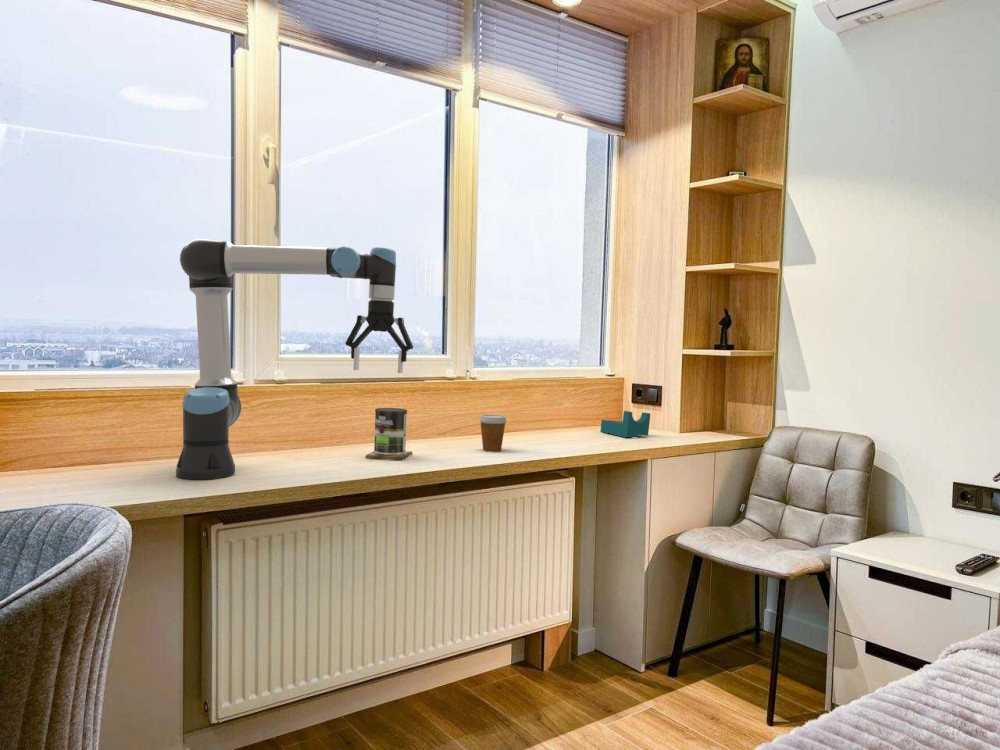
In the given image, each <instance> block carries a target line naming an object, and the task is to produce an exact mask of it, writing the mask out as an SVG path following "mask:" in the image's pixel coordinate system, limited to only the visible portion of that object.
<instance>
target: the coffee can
mask: <svg viewBox="0 0 1000 750" xmlns="http://www.w3.org/2000/svg"><path fill="white" fill-rule="evenodd" d="M374 412H375V415H374V416H375V419H374V441H373V442H374V445H373V447H374V449H373V452H374V453H376V454H381V455H402V454H405V453H406V452H405V451H406V443H407V420H408V419H407V417H408V416H407V415H408V409H406V408H398V407H380V408H379V407H377V408H375V409H374Z"/></svg>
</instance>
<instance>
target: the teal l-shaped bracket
mask: <svg viewBox="0 0 1000 750" xmlns="http://www.w3.org/2000/svg"><path fill="white" fill-rule="evenodd" d="M622 415H623V417H622V420H607V419H601V421H600V422H601V423H600V430H599V431H600V433H604V432H605V434H608V433H610V435H612V434H614V436H617V435H618V437H621V436H623V437H622V438H625V437H637V438H638V436H649V432H650V431H649V429H650V423H651V422H650V421H651V413H650V412H642V413H641V415H640V417H639V419H637V420H635V419H634V417H633V411H627V410H623V414H622Z"/></svg>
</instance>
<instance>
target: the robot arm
mask: <svg viewBox="0 0 1000 750" xmlns="http://www.w3.org/2000/svg"><path fill="white" fill-rule="evenodd" d="M179 263H180V266H181V269H182V270H183V271H184V273H185V274H186V276H188V283H189V291H190V292H191V293H192V294H194V295H195V308H196V309H195V310H196V325H197V327H196V328H197V343H198V345H197V347H198V365H199V366H198V367H199V380H197V381H196V382H195V384H194V388H192V389H188V390H186V392H185V393H184V394H183V399H182V449H181V453H180V456H179V457H178V461H177V464H176V468H175V476H176V477H177V478H179V479H180V478H181V479H186V480H211V479H213V480H214V479H223V478H226V477H231V476H233V475H235V474H236V464H235V461H234V458H233V455H232V452H231V449H230V445H229V444H230V443H229V442H230V441H229V439H230V437H229V435H230V433H229V430H230V429H229V428H230V427H231V426H232V425H234V423H236V421H237V420H238V419H239V417H240V416H241V412H242V402H241V399H240V396H239V392H238V391H239V389H238V382H237V380H235V379H234V378H233V376H232V363H231V361H232V360H231V344H230V342H231V340H230V321H229V303H228V296H229V293H231V291H233V290H234V289H233V275H234V274H251V275H255V274H260V275H261V274H262V275H263V274H265V275H267V274H268V275H319V276H320V275H325V276H328V275H329V277H333V278H339V279H342V278H343V279H357V280H359V279H362V280H369V283H368V284H369V285H368V287H369V288H368V298H369V299H370V300H369V301H368V305H367V307H368V308H367V315H366V316H364V315H363V314H362V315H359V314H358V315H357V316H356V322H355V324H354V326H353V328H352V330H351V332H350V334H349V336H348V337H347V339H346V340H345V345H346V346H348V347H350V348H351V349H350V350H351V352H350V358H351V359H353V371H359V370H360V351H361V350H360V348H359V346H360V344H361V343H362V342H364V340H365V339H366V338H367V337H368V335H369V334H370V333H372V332H385V333H386V332H387V334H389V335H390V336H391V338H392V339H393V341H394V342H395V343H396V345H397V346H398V347H399V349H400V350H398V357H397V358H398V360H397V373H398V374H403V368H404V363H406V362H407V356H408V355H407V354H408V351H410V350H413V349H414V345H413V342H412V341H411V338H410V335H409V333H408V331H407V329H406V326H405V319H404V317H394V312H395V311H394V309H395V302H394V301H393V300H395V287H396V286H395V285H396V272H397V269H396V268H397V253H396V250H394V249H393V248H390V247H384V246H383V247H378V246H377V247H372V248H370V252H369V253H361V252H357V251H356V250H355V248H352V247H350V246H341V247H325V246H324V247H322V246H317V247H315V246H282V245H280V246H276V245H275V246H273V245H268V246H267V245H241V244H239V245H238V244H237V245H235V244H233V243H232V242H230V241H228V240H226V241H225V240H216V239H215V240H213V239H207V238H195V239H193V240H190V241H189V242H187V243H186V244H185V245H184V246H183V248H182V249H181V251H180V254H179ZM365 322H366V323H367V324H368V325H367V326H366V328H365V329H364V330H363V331H362V332H361V333H360V335H359V336H357V335H358V334H359V331H360V329H361V327H362V326H363V324H364V323H365ZM394 323H395V324H396V326H397V327H398V329H399V332H400V333H401V336H402V338H403V340H402V339H401V338H400V336H399V335H398V333H397V332H396V330H395V329H394V328H393V325H394ZM356 337H357V338H356ZM403 341H404V342H403Z"/></svg>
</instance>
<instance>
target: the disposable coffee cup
mask: <svg viewBox="0 0 1000 750" xmlns="http://www.w3.org/2000/svg"><path fill="white" fill-rule="evenodd" d="M478 421H479V422H480V430H481V431H480V432H481V441H482V442H481V443H482V451H484V450H485V451H484V452H488V451H498V452H501V451H502V446H503V441H504V433H505V426H506V422H507V421H508V420H507V418H506V416H505V415H501V414H482V415H480V417H479V419H478Z"/></svg>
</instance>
